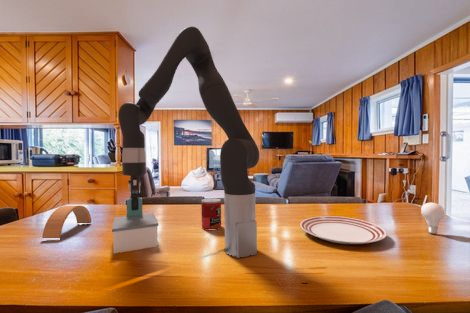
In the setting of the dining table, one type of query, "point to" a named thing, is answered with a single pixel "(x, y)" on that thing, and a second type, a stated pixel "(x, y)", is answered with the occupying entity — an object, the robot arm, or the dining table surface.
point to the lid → (134, 219)
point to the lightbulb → (432, 216)
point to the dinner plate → (343, 230)
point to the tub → (134, 239)
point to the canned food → (211, 213)
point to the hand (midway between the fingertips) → (134, 207)
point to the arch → (59, 217)
